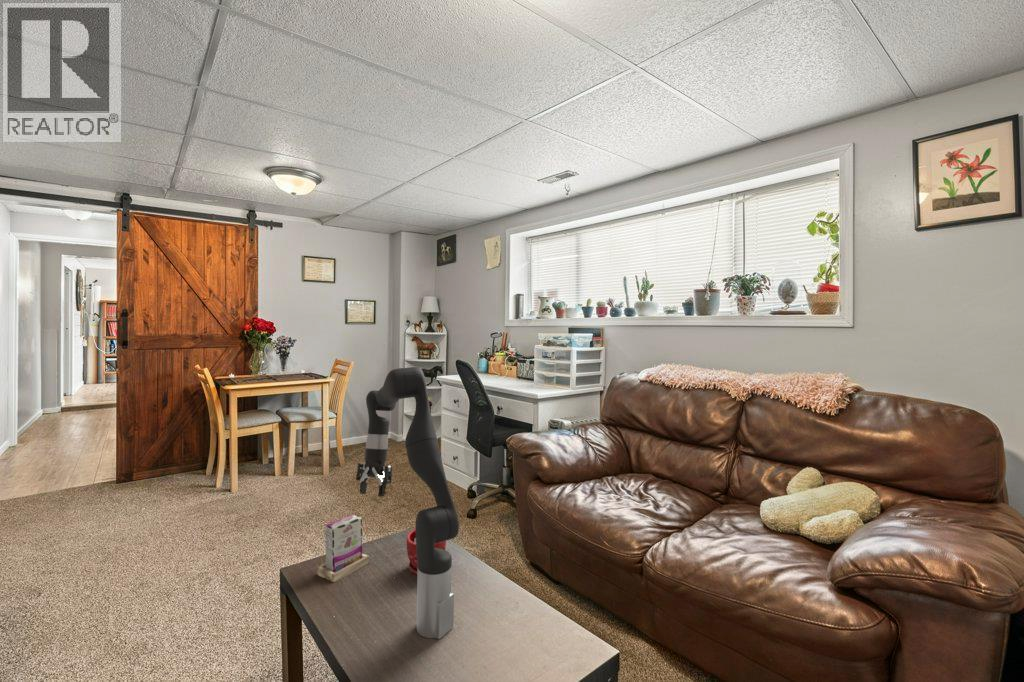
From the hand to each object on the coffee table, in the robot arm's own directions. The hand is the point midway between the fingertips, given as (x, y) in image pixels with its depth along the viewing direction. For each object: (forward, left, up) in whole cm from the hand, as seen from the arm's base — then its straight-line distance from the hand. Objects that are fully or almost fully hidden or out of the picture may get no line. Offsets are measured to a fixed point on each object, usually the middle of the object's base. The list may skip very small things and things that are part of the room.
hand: (371, 495), depth 165 cm
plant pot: (-20, -5, -23) cm, 31 cm away
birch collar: (+3, +10, -23) cm, 25 cm away
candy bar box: (+3, +10, -23) cm, 25 cm away
